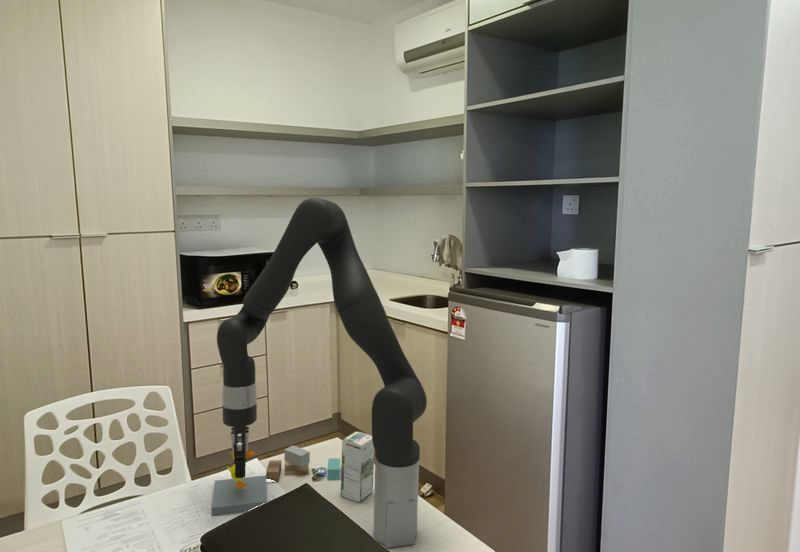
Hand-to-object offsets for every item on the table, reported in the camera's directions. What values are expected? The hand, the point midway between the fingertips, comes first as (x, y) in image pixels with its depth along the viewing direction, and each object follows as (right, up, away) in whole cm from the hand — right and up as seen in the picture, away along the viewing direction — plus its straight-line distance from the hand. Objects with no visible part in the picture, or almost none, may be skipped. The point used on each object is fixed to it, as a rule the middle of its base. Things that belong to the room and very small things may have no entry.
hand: (240, 472), depth 125 cm
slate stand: (0, -7, +1) cm, 7 cm away
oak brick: (+10, -5, +14) cm, 18 cm away
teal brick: (+20, -6, +14) cm, 25 cm away
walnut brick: (+5, -6, +12) cm, 14 cm away
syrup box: (+27, -7, +4) cm, 28 cm away
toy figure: (0, -4, 0) cm, 4 cm away
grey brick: (+10, -2, +14) cm, 18 cm away
